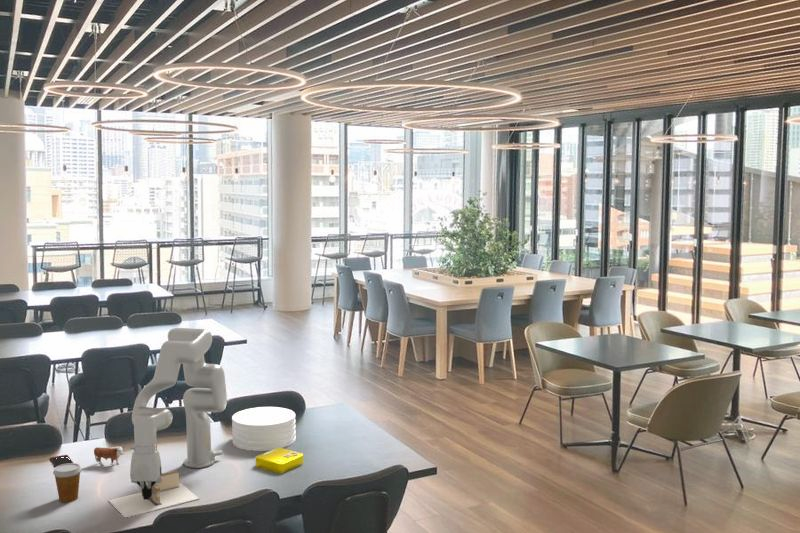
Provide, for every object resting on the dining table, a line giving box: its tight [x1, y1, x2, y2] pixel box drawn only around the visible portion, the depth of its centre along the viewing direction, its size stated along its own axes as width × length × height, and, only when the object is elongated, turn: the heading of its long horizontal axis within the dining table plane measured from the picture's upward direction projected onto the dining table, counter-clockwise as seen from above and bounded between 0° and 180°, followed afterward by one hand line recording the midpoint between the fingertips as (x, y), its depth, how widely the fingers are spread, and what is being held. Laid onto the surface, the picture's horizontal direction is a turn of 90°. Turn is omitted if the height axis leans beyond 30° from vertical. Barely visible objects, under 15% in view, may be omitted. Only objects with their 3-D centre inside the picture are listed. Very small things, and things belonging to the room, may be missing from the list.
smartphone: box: [49, 454, 74, 468], centre depth 326 cm, size 7×1×15 cm
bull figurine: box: [93, 446, 125, 467], centre depth 323 cm, size 4×13×8 cm, turn 79°
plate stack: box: [231, 406, 297, 452], centre depth 354 cm, size 28×28×12 cm
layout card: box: [108, 470, 200, 519], centre depth 288 cm, size 27×18×7 cm, turn 127°
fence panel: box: [146, 482, 160, 503], centre depth 287 cm, size 11×1×6 cm, turn 38°
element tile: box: [254, 448, 304, 474], centre depth 324 cm, size 15×15×5 cm
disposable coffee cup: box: [52, 462, 82, 503], centre depth 288 cm, size 10×10×12 cm
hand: (147, 498), depth 283 cm, fingers closed
